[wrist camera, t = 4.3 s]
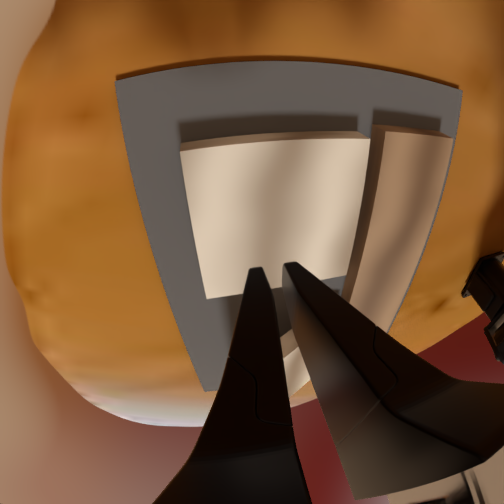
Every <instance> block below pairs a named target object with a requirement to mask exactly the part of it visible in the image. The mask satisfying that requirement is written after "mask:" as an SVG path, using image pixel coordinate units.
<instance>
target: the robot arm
mask: <svg viewBox="0 0 504 504" xmlns="http://www.w3.org/2000/svg"><path fill="white" fill-rule="evenodd" d="M503 259H504V252H500V253H497V254H494V255H490V256H487V257H484V258H481V259H480V260H479V262H478V264H477V266H476V268H475V270H474V272H473V274H472V276H471V278H470V280H469V282H468V284H467V286H466V287H465V289H464V291H463V293H462V295H461V296H462V297H463V298H465V297H467V296H470V295H471V296H472V297H473V298H474V300H475V301H476V302H477V304H478V305H479V306H480V308H481V309H482V311H484V312H485V313H486V314H487V316H488V317H489V319H490V320H491V322H490V323H489V325H487V326H486V327H485V328H484V331H485V332H484V333H485V335H486V337H487V339H488V341H489V343H490V345H491V347H492V349H493V352H494V355H495V358H496V360H498V361H501V362H502V363H503V364H504V265H503V264H502V261H503ZM282 289H283V293H284V298H285V302H286V306H287V310H288V314H289V318H290V322H291V326H292V330H293V333H294V336H295V339H296V342H297V344H298V347H299V350H300V352H301V355H302V358H303V360H304V363H305V365H306V368H307V371H308V373H309V376H310V379H311V381H312V384H313V387H314V390H315V392H316V395H317V398H318V400H319V403H320V406H321V408H322V411H323V414H324V416H325V419H326V422H327V425H328V427H329V430H330V433H331V435H332V438H333V441H334V444H335V445H336V449H337V452H338V455H339V457H340V460H341V463H342V466H343V468H344V471H345V474H346V477H347V480H348V482H349V485H350V488H351V491H352V493H353V496H354V499H355V500H359V499H365V498H371V497H377V496H382V495H387V496H388V499H389V502H390V504H504V384H498V383H485V382H473V381H464V380H459V379H456V378H453V377H451V376H448V375H447V374H445V373H444V372H442V371H441V370H439V369H438V368H436V367H434V366H433V365H431V364H430V363H428V362H427V361H425V360H424V359H422V358H421V357H419V356H418V355H416V354H415V353H413V352H412V351H410V350H409V349H407V348H406V347H405V346H403V345H402V344H400V343H399V342H398V341H396V340H395V339H394V338H392V337H391V336H390V335H389V334H387V333H386V332H385V331H384V330H382V329H381V328H380V327H379V326H376V324H375V323H374V322H372V321H371V320H370V319H369V318H367V317H366V316H365V315H364V314H362V313H361V312H360V311H359V310H357V309H356V308H355V307H354V306H352V305H351V304H350V303H349V302H347V301H346V300H345V299H344V298H342V297H341V296H340V295H339V294H337V293H336V292H335V291H334V290H332V289H331V288H330V287H329V286H327V285H326V284H325V283H324V282H322V281H321V280H320V279H318V278H317V277H316V276H315V275H313V274H312V273H311V272H310V271H308V270H307V269H306V268H304V267H303V266H302V265H301V264H299V263H298V262H296V261H293V262H286V263H284V264H283V266H282ZM292 426H293V424H292V417H291V409H290V402H289V395H288V388H287V381H286V374H285V367H284V360H283V353H282V346H281V339H280V333H279V326H278V320H277V313H276V306H275V300H274V295H273V292H272V289H271V287H270V284H269V282H268V279H267V276H266V274H265V271H264V269H263V267H261V266H259V267H252V268H249V270H248V274H247V278H246V283H245V287H244V291H243V295H242V299H241V303H240V308H239V312H238V316H237V320H236V324H235V328H234V332H233V337H232V341H231V345H230V349H229V353H228V358H227V361H226V365H225V369H224V372H223V376H222V379H221V383H220V386H219V389H218V392H217V394H216V397H215V400H214V402H213V405H212V407H211V410H210V412H209V414H208V417H207V419H206V421H205V424H204V426H203V429H202V431H201V433H200V436H199V438H198V441H197V442H196V445H195V447H194V449H193V451H192V453H191V454H190V456H189V458H188V459H187V461H186V463H185V464H184V465H183V466H182V468H181V469H180V470H179V472H178V473H177V474H176V475H175V477H174V478H173V479H172V480H171V482H170V483H169V484H168V485H167V486H166V488H165V489H164V490H163V491H162V493H161V494H160V495H159V496H158V497H157V498H156V500H155V501H154V502H153V503H152V504H312V502H311V498H310V495H309V491H308V488H307V484H306V481H305V477H304V473H303V470H302V467H301V463H300V459H299V456H298V452H297V448H296V443H295V437H294V431H293V427H292Z"/></svg>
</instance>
